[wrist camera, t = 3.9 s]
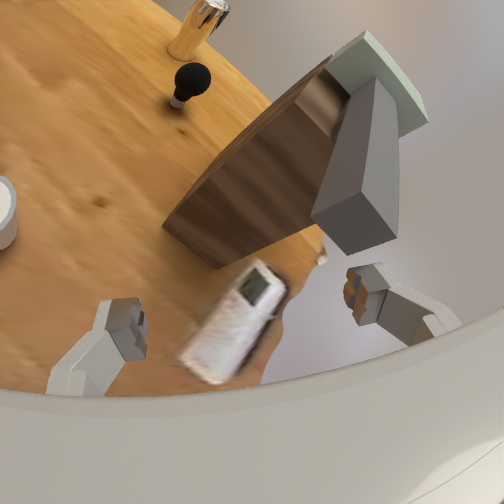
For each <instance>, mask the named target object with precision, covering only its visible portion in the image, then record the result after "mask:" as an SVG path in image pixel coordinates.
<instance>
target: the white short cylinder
mask: <svg viewBox="0 0 504 504" xmlns="http://www.w3.org/2000/svg"><path fill="white" fill-rule="evenodd" d="M17 231H18V218H17V199H16V192H15V189H14V187H13V184H12V183H11V182H10V181H9V180H8V179H7V178H6V177H4V176H1V175H0V250H3V249H5V248H6V247H8V246H9V245H10V244H11V243H12V242H13V240H14V239H15V237H16V234H17Z"/></svg>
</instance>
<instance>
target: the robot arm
mask: <svg viewBox="0 0 504 504" xmlns="http://www.w3.org/2000/svg"><path fill="white" fill-rule="evenodd" d="M346 277H347V278H348V281H347V282H346V284H345V285H344V290H343V293H344V300H345V303H346V305H347V306H348V307H349V308H351V309H352V310H353V313H352V315H353V317H354V319H355V321H356V323H357V324H358V326H363V325H367V324H372V323H376V322H377V324H378V325H380V326H381V327H382V328H384V329H385V330H387V331H388V332H389V333H391V334H392V335H394V336H395V337H396V338H398V339H399V340H401V341H402V342H403V343H405V344H406V345H408V346H409V347H407V348H404V349H401V350H398V351H395V352H392V353H389V354H386V355H383V356H379V357H376V358H373V359H370V360H366V361H363V362H359V363H356V364H352V365H348V366H344V367H341V368H337V369H333V370H329V371H325V372H321V373H316V374H312V375H308V376H303V377H298V378H294V379H289V380H284V381H278V382H273V383H268V384H262V385H256V386H249V387H243V388H236V389H228V390H220V391H212V392H203V393H192V394H181V395H166V396H147V397H105V396H104V394H105V392H106V391H107V389H108V388H109V386H110V385H111V383H112V382H113V380H114V379H115V377H116V376H117V374H118V373H119V371H120V370H121V368H122V367H123V365H124V364H125V363H126V362H125V361H134V360H145V359H146V350H147V345H146V343H145V341H144V340H145V339H146V338H147V337H148V323H147V319H146V316H145V313H143V312H142V311H141V303H140V301H139V298H137V297H134V298H122V299H113V300H102V301H101V302H100V303H99V306H98V310H97V313H96V316H95V320H94V324H93V327H92V331H88V332H87V333H86V334H85V335H84V336H83V337H82V338H81V339H80V340H79V341H78V342H77V343H76V344H75V345H74V346H73V347H72V348H71V349H70V350H69V351H68V352H67V353H66V354H65V355H64V356H63V358H62V359H61V360H60V361H59V362H58V363H57V364H56V365H55V366H54V367H53V368H52V370H51V373H50V377H49V381H48V385H47V389H46V393H45V394H39V393H30V392H22V391H14V390H8V389H1V388H0V504H504V307H502V308H500V309H498V310H496V311H494V312H492V313H490V314H488V315H486V316H484V317H481V318H479V319H477V320H475V321H473V322H470V323H468V324H466V325H462V324H461V322H460V321H459V320H458V319H457V317H456V316H455V315H454V313H453V312H452V311H451V310H450V308H449V307H447V306H445V305H443V304H441V303H439V302H437V301H435V300H433V299H431V298H429V297H427V296H425V295H423V294H421V293H419V292H417V291H415V290H413V289H411V288H409V287H407V286H405V285H404V286H401V285H400V283H399V282H398V281H397V280H396V278H395V277H394V276H393V274H392V273H391V272H390V271H389V270H388V268H387V267H386V266H385V265H384V263H382V262H379V263H374V264H370V265H364V266H358V267H353V268H349V269H348V270H347V274H346Z"/></svg>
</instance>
